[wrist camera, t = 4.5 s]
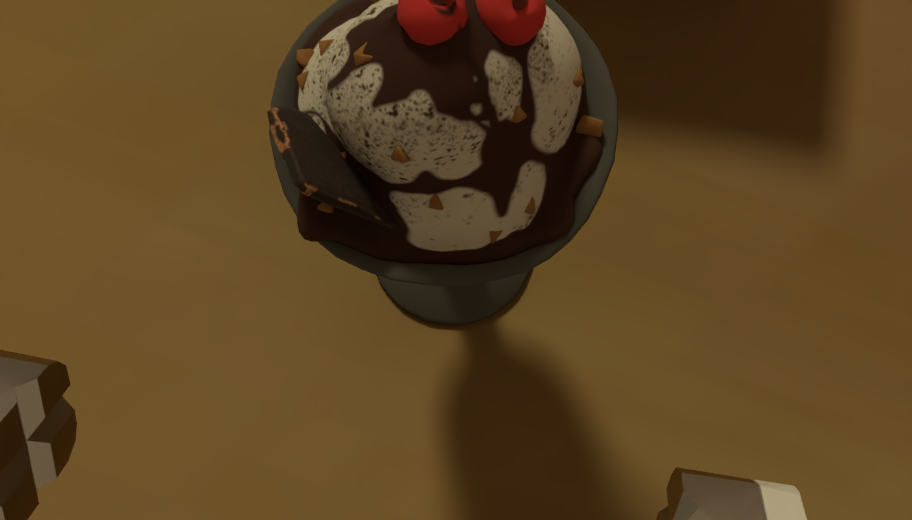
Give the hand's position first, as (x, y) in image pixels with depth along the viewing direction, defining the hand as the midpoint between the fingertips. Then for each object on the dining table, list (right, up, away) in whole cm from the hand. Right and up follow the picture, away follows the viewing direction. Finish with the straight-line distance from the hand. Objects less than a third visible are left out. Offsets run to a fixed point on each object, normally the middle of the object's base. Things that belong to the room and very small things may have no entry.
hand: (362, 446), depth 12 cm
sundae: (+1, +3, +15) cm, 15 cm away
